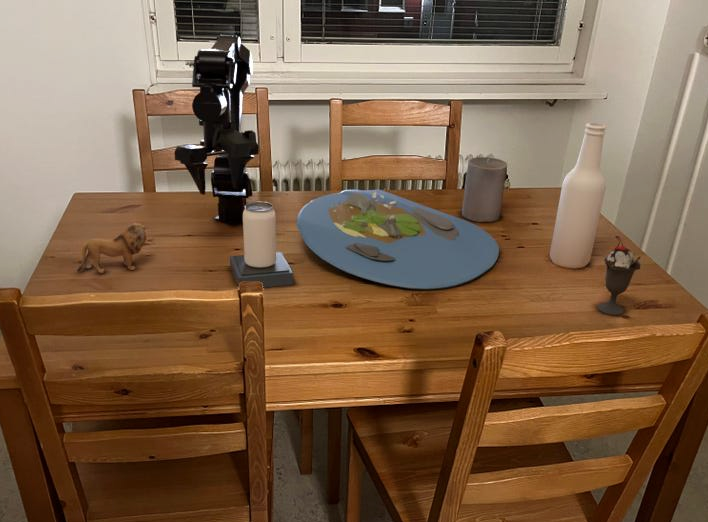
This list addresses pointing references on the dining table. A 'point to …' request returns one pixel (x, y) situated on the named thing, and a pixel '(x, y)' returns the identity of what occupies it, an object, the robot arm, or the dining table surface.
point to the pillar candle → (484, 189)
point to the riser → (262, 272)
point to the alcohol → (580, 204)
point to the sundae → (618, 276)
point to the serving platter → (395, 240)
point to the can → (259, 234)
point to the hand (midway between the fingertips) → (219, 191)
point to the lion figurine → (115, 247)
